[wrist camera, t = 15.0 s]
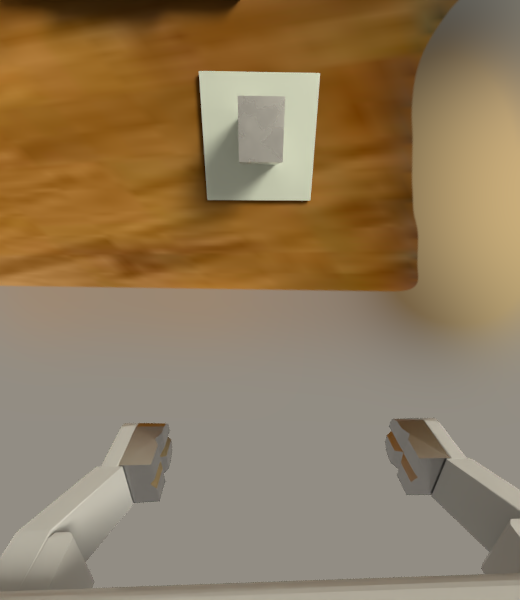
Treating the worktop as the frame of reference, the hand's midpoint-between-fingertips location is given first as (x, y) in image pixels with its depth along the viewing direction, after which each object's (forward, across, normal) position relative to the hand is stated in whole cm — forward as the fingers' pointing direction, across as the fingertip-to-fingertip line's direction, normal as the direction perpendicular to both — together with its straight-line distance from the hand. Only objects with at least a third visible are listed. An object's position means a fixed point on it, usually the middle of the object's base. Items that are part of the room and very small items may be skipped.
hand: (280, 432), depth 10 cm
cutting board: (+31, 0, -12) cm, 33 cm away
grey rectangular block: (+30, 0, -12) cm, 32 cm away
